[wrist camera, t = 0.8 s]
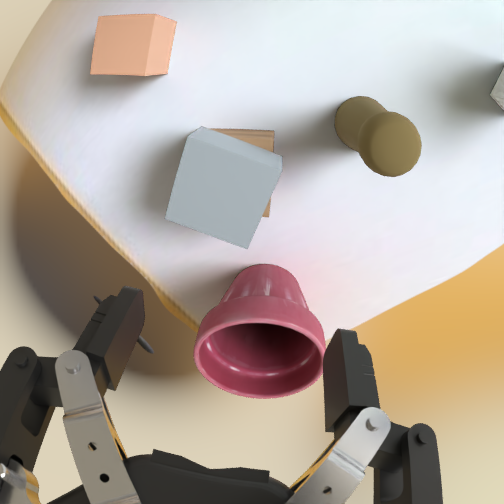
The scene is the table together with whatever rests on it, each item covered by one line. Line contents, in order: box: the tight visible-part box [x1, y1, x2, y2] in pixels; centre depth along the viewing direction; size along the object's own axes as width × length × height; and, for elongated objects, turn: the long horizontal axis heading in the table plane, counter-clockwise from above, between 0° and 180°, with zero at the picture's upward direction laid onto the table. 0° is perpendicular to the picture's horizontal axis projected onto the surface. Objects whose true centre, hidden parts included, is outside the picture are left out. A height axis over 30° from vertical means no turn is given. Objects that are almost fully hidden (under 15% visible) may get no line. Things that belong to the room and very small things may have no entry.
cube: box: [90, 14, 177, 76], centre depth 24 cm, size 6×6×6 cm
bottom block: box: [211, 129, 274, 217], centre depth 32 cm, size 8×8×4 cm
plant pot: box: [194, 264, 326, 399], centre depth 37 cm, size 14×14×13 cm
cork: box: [335, 96, 421, 177], centre depth 25 cm, size 6×6×11 cm
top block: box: [165, 126, 282, 249], centre depth 28 cm, size 8×8×4 cm
